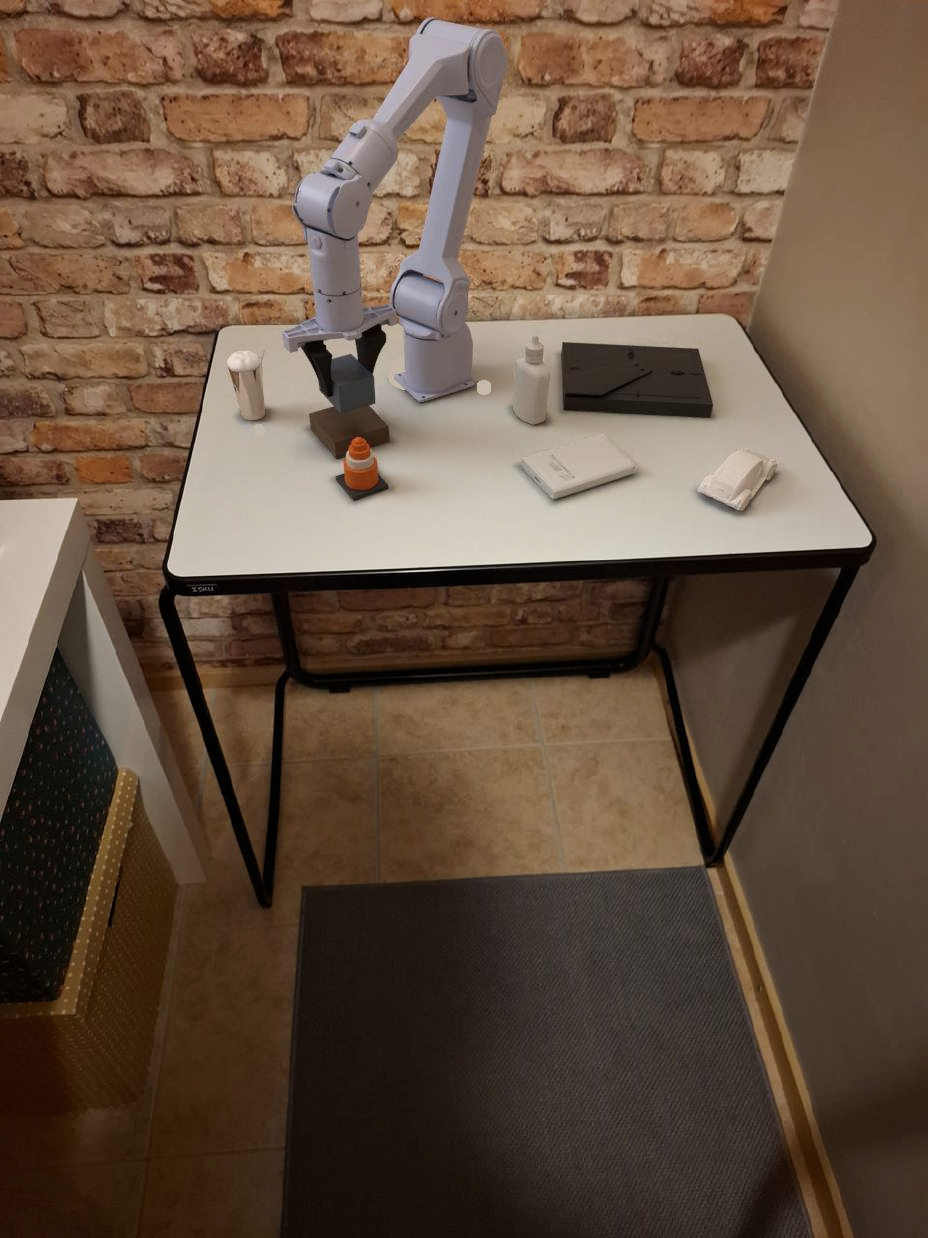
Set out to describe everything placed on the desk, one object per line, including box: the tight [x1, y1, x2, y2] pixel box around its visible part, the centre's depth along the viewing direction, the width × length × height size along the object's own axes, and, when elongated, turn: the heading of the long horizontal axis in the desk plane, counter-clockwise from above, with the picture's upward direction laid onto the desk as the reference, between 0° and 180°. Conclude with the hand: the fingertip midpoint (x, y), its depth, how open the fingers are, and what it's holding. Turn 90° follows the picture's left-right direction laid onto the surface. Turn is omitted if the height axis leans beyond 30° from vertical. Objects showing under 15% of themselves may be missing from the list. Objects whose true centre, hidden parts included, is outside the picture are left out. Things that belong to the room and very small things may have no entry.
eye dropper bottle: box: [511, 333, 551, 425], centre depth 116 cm, size 4×6×12 cm
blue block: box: [317, 353, 377, 414], centre depth 110 cm, size 5×6×4 cm
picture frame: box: [560, 341, 714, 418], centre depth 126 cm, size 16×3×21 cm
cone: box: [335, 437, 390, 501], centre depth 106 cm, size 5×5×7 cm
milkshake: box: [226, 349, 266, 421], centre depth 116 cm, size 4×5×10 cm
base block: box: [308, 405, 391, 460], centre depth 115 cm, size 8×8×2 cm
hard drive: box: [520, 433, 637, 500], centre depth 111 cm, size 2×8×12 cm
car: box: [696, 447, 779, 512], centre depth 108 cm, size 12×6×5 cm, turn 140°
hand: (346, 387), depth 111 cm, fingers closed on blue block, 5 cm apart
